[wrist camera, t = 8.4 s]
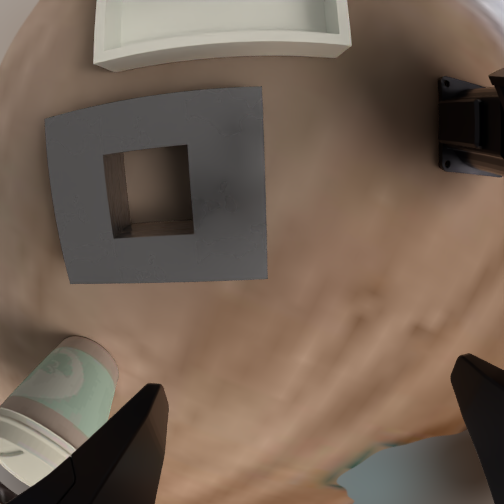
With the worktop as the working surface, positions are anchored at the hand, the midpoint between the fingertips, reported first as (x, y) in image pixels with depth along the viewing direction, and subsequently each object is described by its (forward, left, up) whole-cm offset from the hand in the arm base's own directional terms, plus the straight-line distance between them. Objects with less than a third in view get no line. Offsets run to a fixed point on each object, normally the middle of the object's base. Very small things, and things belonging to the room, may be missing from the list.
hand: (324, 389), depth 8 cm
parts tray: (+3, -17, -12) cm, 21 cm away
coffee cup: (+16, +10, -13) cm, 23 cm away
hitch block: (+7, -4, -12) cm, 15 cm away
